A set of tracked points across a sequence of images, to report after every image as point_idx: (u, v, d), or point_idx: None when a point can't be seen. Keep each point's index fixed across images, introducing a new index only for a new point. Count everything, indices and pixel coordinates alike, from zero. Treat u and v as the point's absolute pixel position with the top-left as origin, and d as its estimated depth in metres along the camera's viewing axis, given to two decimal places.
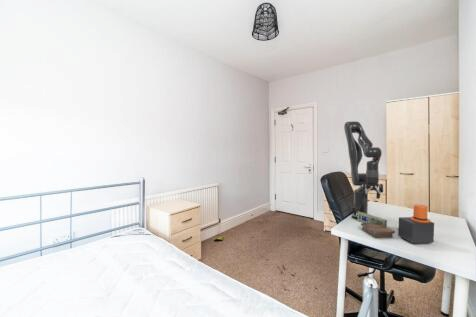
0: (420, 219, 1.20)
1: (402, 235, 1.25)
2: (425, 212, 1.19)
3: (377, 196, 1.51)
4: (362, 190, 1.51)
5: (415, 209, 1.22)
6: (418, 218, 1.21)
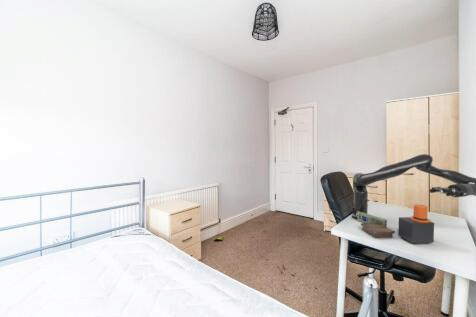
0: (420, 219, 1.20)
1: (402, 235, 1.25)
2: (425, 212, 1.19)
3: None
4: None
5: (415, 209, 1.22)
6: (418, 218, 1.21)
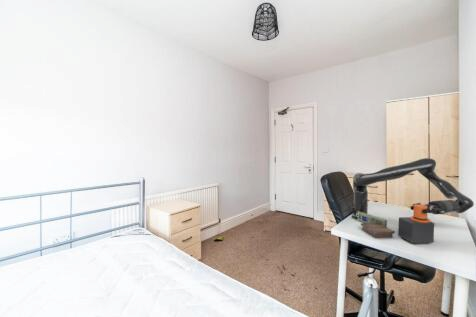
0: (420, 219, 1.20)
1: (402, 235, 1.25)
2: None
3: None
4: None
5: (415, 209, 1.22)
6: (418, 218, 1.21)
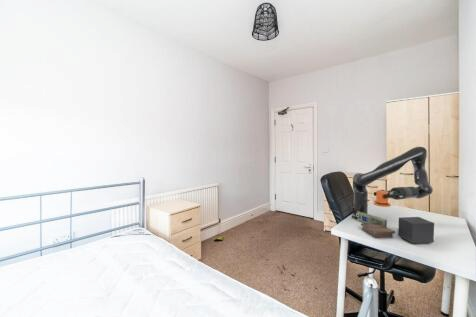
0: (381, 204, 1.30)
1: (402, 235, 1.25)
2: None
3: None
4: None
5: (377, 195, 1.32)
6: (379, 203, 1.30)
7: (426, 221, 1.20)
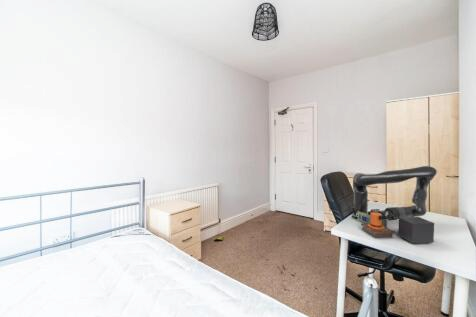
0: (375, 226, 1.32)
1: (402, 235, 1.25)
2: (379, 219, 1.32)
3: None
4: None
5: (371, 217, 1.34)
6: (373, 225, 1.33)
7: (426, 221, 1.20)
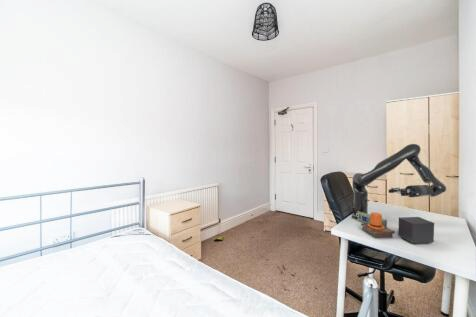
0: (375, 226, 1.32)
1: (402, 235, 1.25)
2: (379, 219, 1.32)
3: None
4: None
5: (371, 217, 1.34)
6: (373, 225, 1.33)
7: (426, 221, 1.20)
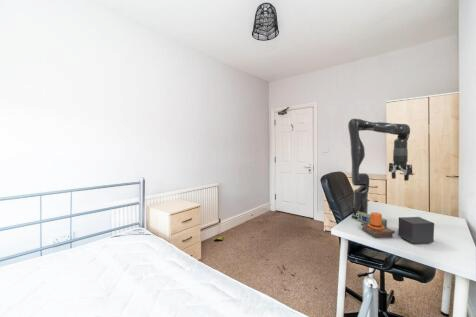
0: (375, 226, 1.32)
1: (402, 235, 1.25)
2: (379, 219, 1.32)
3: None
4: None
5: (371, 217, 1.34)
6: (373, 225, 1.33)
7: (426, 221, 1.20)
